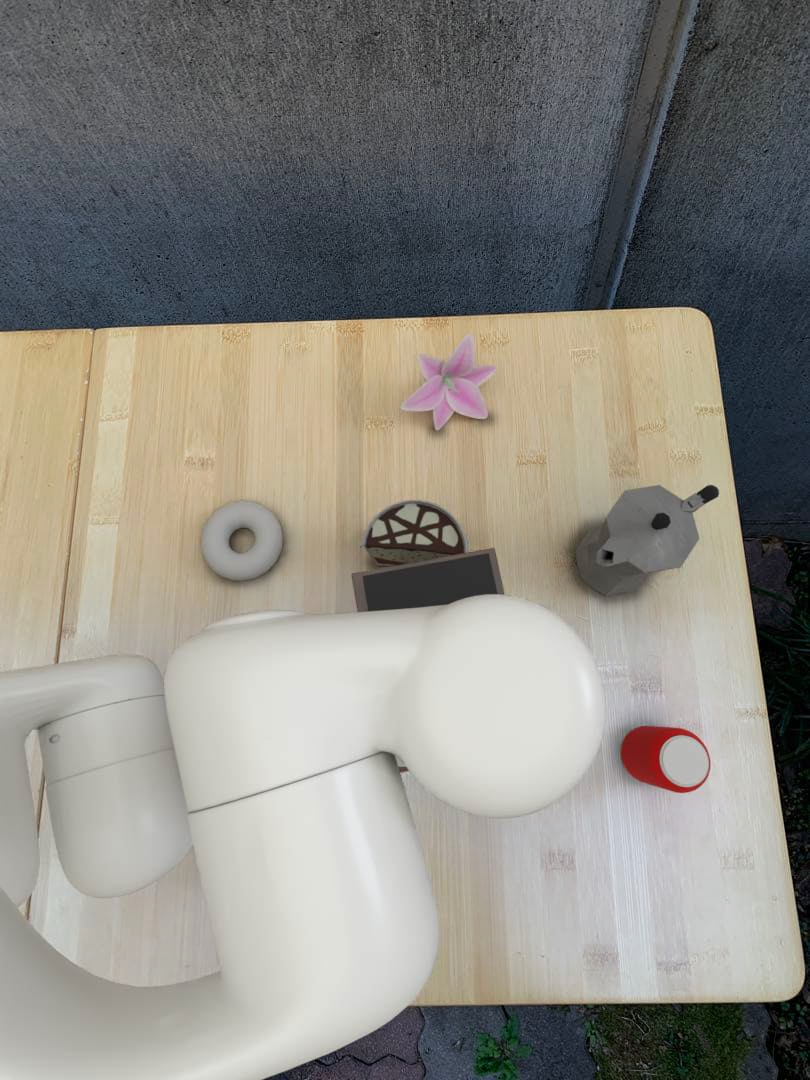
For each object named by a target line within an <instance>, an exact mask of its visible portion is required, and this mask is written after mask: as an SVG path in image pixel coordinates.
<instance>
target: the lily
mask: <svg viewBox="0 0 810 1080" xmlns="http://www.w3.org/2000/svg"><path fill="white" fill-rule="evenodd" d="M476 354H477V353H476V343H475V338H474V335H473V334H472V332H469V333H467V334H466V335H465V336H464V337H463V338H462V340H461V341H460V342H459V344H458V345H457V346H456V347H455V348H454V350H452V352H451V354H450V355H449V356H448V358H447V359H446V360H445V361H444V360H443V359H439V358H437V357H433V356H431V355H426V354H421V353H419V354H417V355H416V359H417V363H418V366H419V369H420V371H421V373H422V375H423V377H424V379H425V382H424V383H423V384H422V385H421V386H420V387H419V388H418V389H416V390H415V391H414V392H413V393H412V394H411V395H410V396H408V397H407V398H406V399H405V400H404V401H403V402H402V403H401V405H400V407H399V409H401V410H403V411H408V412H427V411H432V416H433V418H432V419H433V427H434V429H435V431H439V430H440V429H442V428H443V427H444V426H445V424H446V423H447V422H448V421H449V419H451V417H452V416H453V414H454V412H455V413H457V414H459V415H462V416H465V417H468V418H473V419H478V420H485V419H487V418H488V416H489V414H488V413H489V412H488V407H487V404H486V401H485V398H484V396H483V393H482V391H481V390H480V388H479V387H480V386H482V385H483V384H484V383H485V382H486V381H488V380H489V379H490V378H491V377H492V376H493V375H494V374H495V373H496V372H497V371H498V369H499V366H498V365H493V364H480V365H479V364H476V360H477V359H476V356H477V355H476Z"/></svg>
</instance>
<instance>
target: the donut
mask: <svg viewBox="0 0 810 1080" xmlns="http://www.w3.org/2000/svg"><path fill="white" fill-rule="evenodd" d="M243 528H244V529H248V530H250V531H251V532H252V533H253V535H254V537H255V538H254V543H253V545H252V547H250V549H249V550H247V551H245V552H242V553H241V552H236V551H235V550H233V549H232V548H231V546H230V538H231V536H232V534H233V533H234V532H235V531H238V530H240V529H243ZM283 541H284V536H283V530H282V526H281V523H280V522H279V520H278V518H277V517H276V515H275V514H274V513H273V512H272V511H270V509H268V508H267V506H265V505H263V504H260V503H258V502H255V501H252V500H251V501H250V500H237V501H232V502H228V503H226V504H225V505H223V506H221V507H219V508H217V509H216V510H215V511H214V512H213V513H212V514H211V515H210V516H209V517H208V519H207V520H206V522H205V524H204V526H203V528H202V530H201V537H200V549H201V555H202V556H203V558H204V560H205V562H206V564H207V565H208V567H209V568H210V569H211V570H212V571H213V572H215V574H217V575H218V576H221V577H222V578H225V579H228V580H231V581H247V580H248V581H249V580H253V579H257V578H258V577H260V576H261V575H264V574H266V573H267V572H268V571H270V569H271V568H272V567H273V566H274V565H275V564H276V563H277V561H278V559H279V557H280V555H281V552H282V550H283V549H282V548H283Z"/></svg>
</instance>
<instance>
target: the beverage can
mask: <svg viewBox="0 0 810 1080" xmlns="http://www.w3.org/2000/svg"><path fill="white" fill-rule="evenodd" d="M620 758H621V761H622V764H623V766H624V768H625V770H626V771H627V773H628V774H629V775H630V776H631V777H632V778H634V779H635V780H637V781H639V782H640V783H643V784H646V785H649V786H654V787H657V788H660V789H663V790H666V791H669V792H673V793H676V794H677V793H678V794H686V793H691V792H694V791H696V790H698V789H699V788H700V787H702V786H703V784H705V782H706V781H707V779H708V777H709V775H710V771H711V757H710V754H709V751H708V748H707V746H706V745H705V743H704V742H703V741H702V740H701V738H700V737H699V736H698V735H696V734H695V733H694V732H692V731H690V730H688V729H685V728H682V727H674V726H673V727H670V726H657V725H642V726H638V727H635V728H633V729H631V730H630V731H629V732H628V733H627V734H626V735H625V737H624V738H623V740H622V744H621V747H620Z"/></svg>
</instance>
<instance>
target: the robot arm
mask: <svg viewBox="0 0 810 1080" xmlns="http://www.w3.org/2000/svg"><path fill="white" fill-rule="evenodd" d="M165 667H166V668H165V671H164V677H163V674H162V672H161V670H160V668H159V667H158V665H157V664H156V663H155V662H154V661H153V660H151V659H150V658H148V657H146V656H144V655H139V654H123V653H122V654H112V655H111V654H110V655H103V656H97V657H90V658H81V659H76V660H70V661H63V662H56V663H51V664H43V665H37V666H32V667H25V668H18V669H13V670H5V671H0V1080H264V1079H268V1078H270V1077H273V1076H275V1075H279V1074H281V1073H284V1072H287V1071H289V1070H292V1069H294V1068H296V1067H299V1066H302V1065H304V1064H306V1063H309V1062H311V1061H313V1060H316V1059H319V1058H321V1057H323V1056H326V1055H329V1054H331V1053H333V1052H335V1051H338V1050H340V1049H341V1048H344V1047H346V1046H347V1045H349V1044H352V1043H354V1042H356V1041H358V1040H360V1039H362V1038H363V1037H365V1036H368V1035H369V1034H371V1033H373V1032H375V1031H376V1030H378V1029H380V1028H381V1027H383V1026H385V1025H386V1024H388V1023H389V1022H390V1021H392V1020H393V1019H394V1018H396V1016H398V1015H400V1013H402V1012H403V1011H404V1010H405V1009H406V1008H408V1006H410V1005H411V1004H412V1003H413V1002H414V1000H415V999H416V998H417V997H418V996H419V995H420V994H421V992H422V991H423V990H424V988H425V986H426V984H427V982H428V981H429V979H430V977H431V976H432V974H433V972H434V969H435V966H436V963H437V960H438V957H439V950H440V919H439V910H438V905H437V904H438V903H437V901H436V896H435V890H434V887H433V884H432V880H431V877H430V873H429V872H430V871H429V869H428V866H427V865H428V864H427V861H426V858H425V855H424V850H423V848H422V844H421V841H420V837H419V833H418V830H417V827H416V823H415V820H414V816H413V813H412V809H411V806H410V802H409V799H408V795H407V791H406V788H405V785H404V781H403V778H402V773H400V771H399V767H407V768H408V770H409V771H408V772H409V773H410V774H411V775H412V777H413V778H414V779H415V780H416V782H418V783H419V784H420V785H421V787H423V788H424V790H426V791H427V792H428V793H429V794H430V795H431V796H433V797H434V798H436V799H437V800H439V801H440V802H441V803H444V804H445V805H447V806H448V807H451V808H452V809H455V810H458V811H461V812H463V813H466V814H467V815H471V816H476V817H479V818H486V819H499V820H501V819H513V818H520V817H525V816H529V815H532V814H535V813H537V812H541V811H542V810H545V809H547V808H549V807H551V806H552V805H554V804H556V803H558V802H559V801H560V800H562V799H563V798H565V797H566V796H567V795H568V794H569V793H570V792H571V791H572V790H573V789H574V788H575V787H577V785H579V784H580V782H581V781H582V780H583V778H584V777H585V776H586V775H587V773H588V772H589V770H590V769H591V767H592V765H593V763H594V761H595V759H596V758H597V756H598V752H599V750H600V747H601V744H602V742H603V738H604V732H605V726H606V722H607V721H606V720H607V699H606V692H605V688H604V681H603V678H602V674H601V672H600V670H599V666H598V664H597V661H596V660H595V658H594V656H593V654H592V652H591V650H590V649H589V647H588V645H587V644H586V642H585V641H584V640H583V639H582V637H581V636H580V635H579V633H578V632H577V631H576V630H575V629H574V628H573V627H572V626H571V625H570V624H569V623H568V622H566V621H565V620H564V619H563V618H561V617H560V616H559V615H558V614H557V613H555V612H553V611H552V610H549V608H546V607H544V606H542V605H540V604H539V603H536V602H533V601H531V600H529V599H525V598H522V597H519V596H514V595H510V594H509V595H508V594H505V595H499V594H487V595H478V596H472V597H468V598H464V599H461V600H458V601H455V602H453V603H451V604H448V605H439V606H430V607H420V608H408V609H395V610H382V611H369V612H358V611H356V612H355V611H354V612H339V613H324V614H323V613H322V614H306V613H305V612H301V611H297V610H291V609H264V610H255V611H250V612H244V613H243V612H242V613H239V614H234V615H230V616H227V617H224V618H221V619H218V620H216V621H214V622H211V623H209V624H208V625H207V626H205V627H203V628H202V629H201V630H200V632H198V633H195V634H194V635H192V636H189V637H188V638H187V639H186V640H184V641H183V642H181V643H180V644H179V645H178V646H177V647H176V648H175V650H174V651H173V652H172V654H171V655H170V658H169V659H168V661H167V663H166V666H165ZM32 731H37V736H38V744H39V750H40V755H41V756H40V757H41V763H42V768H43V775H44V781H45V793H46V798H47V799H46V800H47V806H48V811H49V817H50V818H49V819H50V822H51V823H50V824H51V829H52V834H53V840H54V845H55V849H56V853H57V858H58V860H59V863H60V866H61V869H62V871H63V874H64V876H65V878H66V879H67V881H68V882H69V884H70V885H71V886H72V888H73V889H75V890H76V891H77V892H79V893H80V894H82V895H85V896H86V897H90V898H94V899H114V898H121V897H125V896H128V895H131V894H135V893H137V892H139V891H141V890H143V889H147V888H148V887H150V886H152V884H154V883H156V882H158V881H159V880H161V879H163V878H164V877H166V875H168V874H169V873H171V872H172V871H173V870H174V869H175V868H176V867H177V866H178V865H179V864H180V863H181V862H182V861H183V860H184V858H185V857H186V856H187V855H188V853H189V852H190V851H191V849H192V847H193V851H194V855H195V856H194V857H195V860H196V865H197V870H198V873H199V879H200V885H201V888H202V894H203V898H204V903H205V908H206V913H207V917H208V922H209V926H210V932H211V937H212V941H213V946H214V950H215V955H216V959H217V964H218V966H219V970H218V971H216V972H212V973H210V974H207V975H204V976H201V977H198V978H195V979H191V980H186V981H181V982H177V983H172V984H167V985H166V984H165V985H156V986H138V985H129V984H124V983H120V982H115V981H112V980H109V979H106V978H104V977H100V976H98V975H95V974H94V973H92V972H90V971H89V970H87V969H85V968H83V967H81V966H80V965H78V964H76V963H74V962H72V961H71V960H70V959H68V958H67V957H66V956H65V955H63V954H62V953H61V952H60V951H58V950H57V949H56V948H55V947H53V945H52V944H51V943H49V942H48V941H47V939H46V938H45V937H44V936H42V934H40V932H39V931H37V929H36V928H35V927H34V926H33V924H31V922H30V921H29V920H28V919H27V917H26V916H25V915H24V914H23V913H22V912H21V910H20V909H19V908H20V907H21V906H22V905H23V904H25V903H26V901H28V899H29V898H30V897H31V895H32V894H33V892H34V891H35V889H36V886H37V882H38V881H39V876H40V875H39V874H40V866H41V859H40V857H41V855H40V844H39V843H40V841H39V833H38V826H37V819H36V811H35V806H34V798H33V792H32V786H31V778H30V772H29V765H28V764H29V763H28V759H27V753H26V741H27V738H28V737H29V735H30V734H31V733H32ZM398 766H399V767H398Z"/></svg>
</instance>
